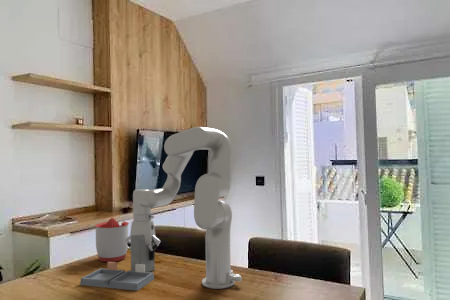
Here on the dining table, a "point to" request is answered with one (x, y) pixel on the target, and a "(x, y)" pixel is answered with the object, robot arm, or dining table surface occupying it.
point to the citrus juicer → (111, 240)
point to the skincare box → (140, 253)
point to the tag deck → (118, 277)
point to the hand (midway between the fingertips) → (142, 258)
